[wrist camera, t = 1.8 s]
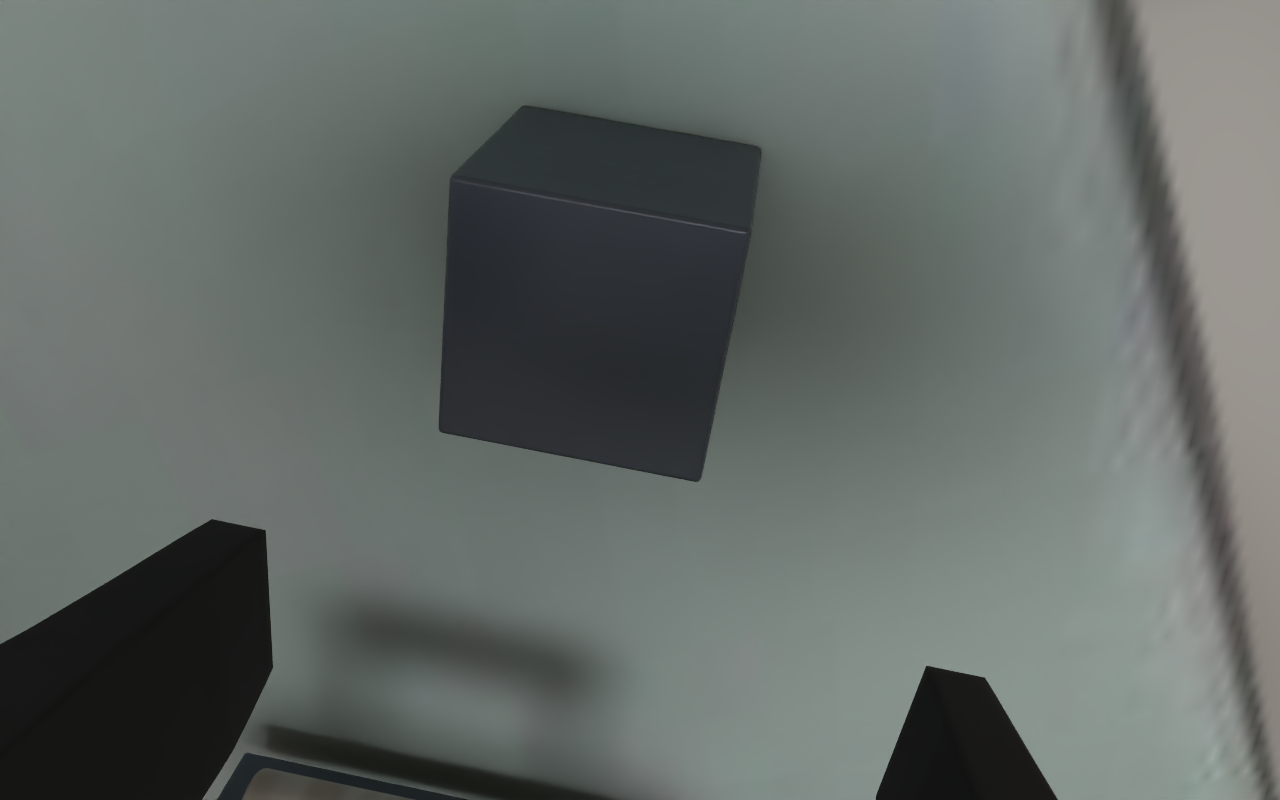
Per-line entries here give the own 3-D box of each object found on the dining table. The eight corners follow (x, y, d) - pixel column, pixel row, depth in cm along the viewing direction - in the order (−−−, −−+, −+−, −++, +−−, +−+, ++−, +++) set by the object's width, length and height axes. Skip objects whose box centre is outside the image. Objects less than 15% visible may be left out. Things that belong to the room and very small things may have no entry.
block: (504, 322, 19) (436, 433, 15) (521, 104, 17) (448, 174, 13) (719, 363, 18) (700, 484, 15) (762, 146, 17) (752, 229, 13)
